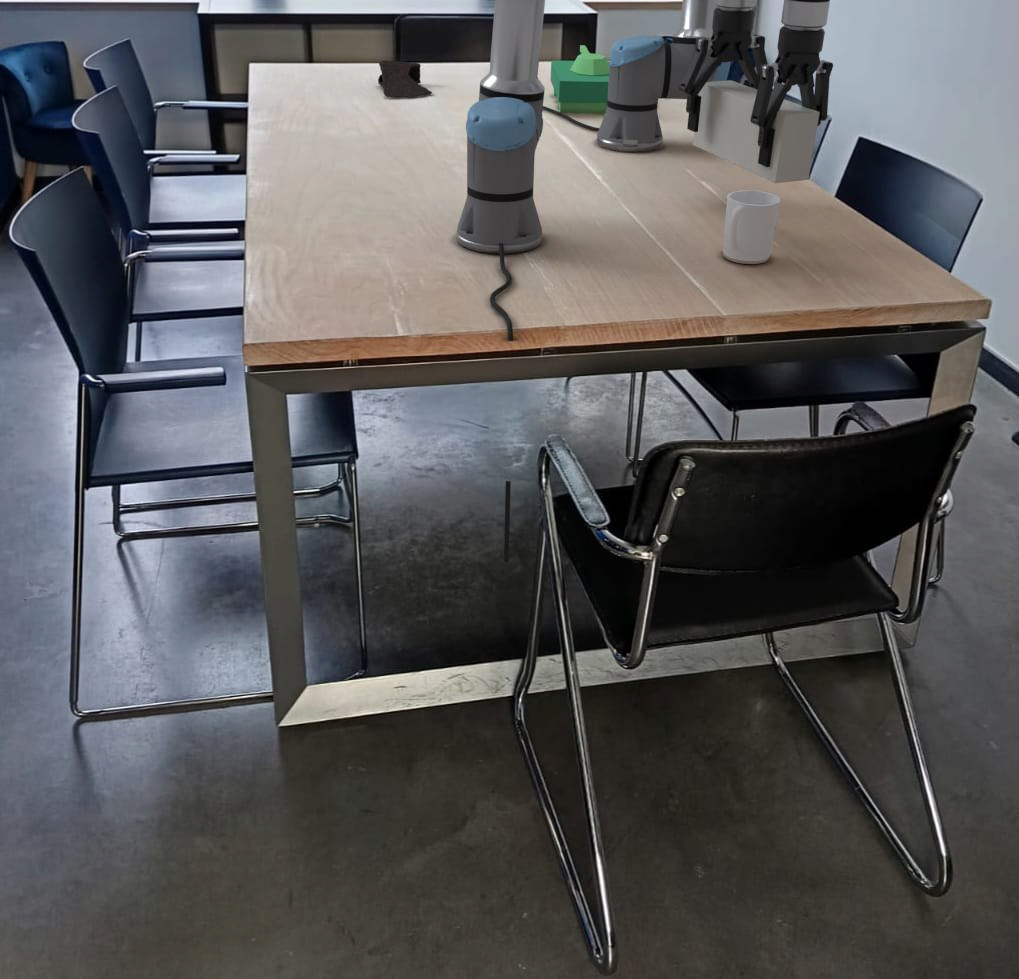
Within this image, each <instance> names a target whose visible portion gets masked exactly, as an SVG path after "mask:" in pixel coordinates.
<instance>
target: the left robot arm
mask: <svg viewBox="0 0 1019 979" xmlns="http://www.w3.org/2000/svg"><path fill="white" fill-rule="evenodd" d="M830 3H831V0H783V4H782V5H783V6H782V12H781V19H780V22H781V24H782V25H783V26H781V27H780V28H779V33H778V38H777V52H778V53H777V57H776V58H775V61H774V62H773V63H769V64H768V65H766V64H762V65H761V66H760V82H759V86H758V90H757V94H756V99H755V103H754V107H753V111H752V115H751V120H750V121H751V123H753V124H756V125H758V126H759V135H758V146H760V151H759V158H758V164H761V165H763V166H765V167H770V162H771V155H772V148H773V142H774V135H775V129H773V128H771V127H772V125H773V123H774V121H775V118H776V116H777V112H779V109H780V107H781V105H782V103H783V101H784V99H786V96H787V94H788V92H790V91H791V90H792V87H793V86H796V85H797V87H798V89H799V94H800V101H801V106H803V107H806V108H809V109H812V110H815V111H818V112H820V113H819V119H818V125H817V127H819V126H820V125H821V122H822V121H823V122H825V121H826V120H827V119H828V110H829V109H828V108H829V95H830V93H829V92H830V79H831V78H830V77H831V74H832V71H833V68H834V63H833V62H830V61H829V60H824V59H822V60H821V58H820V53H821V52H822V51H823V46H824V41H825V35H826V31H825V29H824V27H826V26H827V23H828V16H829V10H830ZM545 6H546V0H494V11H493V22H492V23H493V24H492V37H491V49H490V60H489V72H488V74H486V75H485V76H484V77H483V78H482V79H481V80H480V81H479V94H478V101H476V102H475V103H473V104H472V105H471V106H470V107H469V109H468V111H467V117H466V118H467V119H466V122H465V131H466V192H467V193H466V198H465V202H464V205H463V209H462V211H461V214H460V218H459V220H458V224H457V228H456V241H457V243H458V244H459V245H461V246H462V247H464V248H466V249H468V250H470V251H475V252H479V253H486V254H497V255H499V266H500V269H501V271H502V273H503V274H504V276H505V277H506V281H505V283H504V284H502V285H501V286H500V287H498V288H496V289H495V290H493V291H492V293H491V294H490V296H489V302H490V305H491V306H492V307H493V308H494V309H495V310H496V312H498V313H499V314H500V315H501V316H502V317H503V319H504V321H505V323H506V329H507V341H509V342H513V341H514V329H513V322H512V320H511V317H510V316H509V315H508V313H507V311H506V310H505V309H504V308H502V307H501V306H500V305H499V304H498V303H497V301H496V299H495V298H496V297H497V296H498V295H499V294H500V293H502V292H503V291H505V290H507V289H508V288H509V287H510V285H511V283H512V275H511V274H510V272H509V271H508V268H507V267H506V262H505V255H506V254H507V255H508V254H517V253H524V252H527V251H530V250H533V249H536V248H538V247H539V246H540V245H541V244H542V243H543V229H542V224H541V221H540V220H541V219H540V218H539V214H538V213H539V212H538V210H537V206H536V204H535V199H534V183H535V181H534V180H535V158H536V156H535V155H536V149H537V146H538V144H539V141H540V138H542V133H543V129H544V119H543V111H544V110H543V106H544V102H545V101H544V100H545V99H544V98H545V86H544V84H543V82H541V80H540V79H539V77H538V75H539V65H540V57H541V56H540V55H541V47H542V46H541V45H542V35H543V25H544V16H545ZM814 74H815V78H814ZM775 77H776V78H775ZM814 79H815V80H814ZM511 483H512V482H511V480H506V481H505V490H504V492H505V493H504V494H505V496H504V535H503V536H504V539H503V540H504V542H503V545H504V546H503V562H504V563H509V562H510V526H511V525H510V524H511V487H512V486H511V485H512V484H511Z"/></svg>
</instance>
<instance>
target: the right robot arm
mask: <svg viewBox="0 0 1019 979" xmlns="http://www.w3.org/2000/svg"><path fill="white" fill-rule="evenodd" d="M757 1H758V0H682V3H681V14H680V26H679V28H678V29H677V30H676V31H675V32H674V33H673V34H672V42H671V43H665V40H664V38H663V37H662V36H660V35H638V36H637V35H636V36H631V37H626V38H622V39H619V40H618V41H615V42H614V43H613V45H612V46H611V49H610V56H609V61H608V62H609V67H610V70H609V84H608V97H607V109H606V112H605V114H603V118H602V121H601V123H600V126H599V127H596V126H592V125H588V124H586V123H583V122H581V121H578V120H577V119H574V118H572V117H571V116H569V115H567V114H566V113H560V112H559V110H556V109H553V108H550V107H548V106H545V105H543V111H546V112H548V113H551V114H554V115H556V116H559V117H560V118H563V119H565V120H567V121H569V122H570V123H572V124H574V125H576V126H579V127H581V128H584V129H586V130H589V131H592V132H593V131H594V132H597V133H596V145H598V146H600V147H602V148H603V149H607V150H611V151H615V152H625V153H644V152H645V153H647V152H653V151H656V150H658V149H661V148H662V147H663V140H664V136H663V132H662V127H661V122H660V119H659V113H658V107H659V106H658V105H659V100H660V99H662V100H663V99H664V100H665V99H666V100H686V103H685V104H686V106H685V112H686V113H688V117H687V128H686V129H687V130H688V131H691V132H693V133H694V132H698V126H699V116H700V107H701V98H702V97H701V96H699V95H698V94H699V92H700V91H701V89H702V88H703V87H704V85H705V84H706V82H714V81H728V75H729V72H730V67H731V62H734V63H738V64H739V66H740V68H741V70H742V72H743V74H744V76H745V78H746V80H747V82H748V84H749V87H751V88H754V89H757V90H758V86H759V82H760V66H761V65H762V64H766V65H769V64H768V58H767V54H766V50H765V47H766V36H764V35H760V34H753V35H752V34H751V33H752V31H753V30H754V23H755V16H756V15H755V14H756V12H755V10H754V9H753V8H755V7H756V6H757ZM750 47H751V51H752V55H753V56H752V57H753V61H754V65H755V67H754V65H753V63H752V59H751V56H750V54H749V52H748V49H749V48H750Z"/></svg>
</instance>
